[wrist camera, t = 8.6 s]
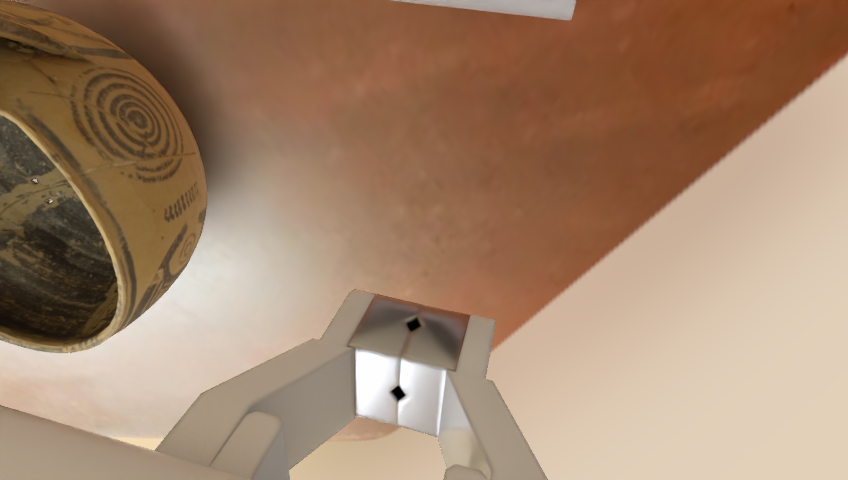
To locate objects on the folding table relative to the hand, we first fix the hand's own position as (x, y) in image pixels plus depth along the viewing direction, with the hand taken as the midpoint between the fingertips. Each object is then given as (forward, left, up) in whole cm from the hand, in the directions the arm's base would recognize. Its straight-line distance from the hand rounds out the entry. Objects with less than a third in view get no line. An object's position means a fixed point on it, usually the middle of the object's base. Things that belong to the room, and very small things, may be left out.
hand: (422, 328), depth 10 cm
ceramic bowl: (+22, +5, -17) cm, 28 cm away
